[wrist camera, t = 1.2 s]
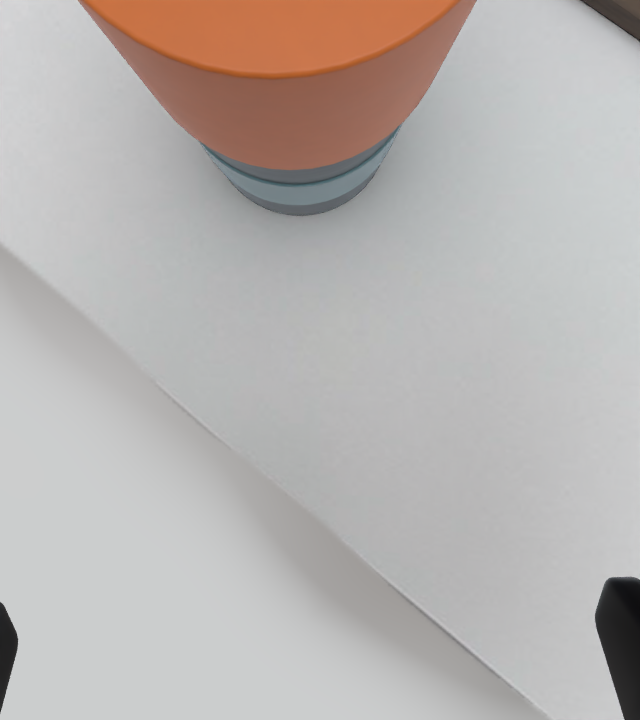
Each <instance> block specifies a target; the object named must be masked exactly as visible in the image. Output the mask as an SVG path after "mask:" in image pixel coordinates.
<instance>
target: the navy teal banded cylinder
mask: <svg viewBox="0 0 640 720" xmlns="http://www.w3.org/2000/svg"><path fill="white" fill-rule="evenodd" d="M402 123H403V122H402ZM402 123H401V124H400V125H399V126H398V127H397V128H396V129H395V130H394V131H393V132H392V133H390V134H389V135H388V136H387V137H385V138H384V139H382V140H381V141H380V142H378V143H377V144H375V145H374V146H372V147H371V148H369V149H367V150H365V151H363V152H361V153H359V154H357V155H356V156H354V157H351V158H349V159H346V160H343V161H340V162H337V163H335V164H331V165H327V166H322V167H317V168H313V169H300V170H280V169H268V168H263V167H258V166H253V165H249V164H246V163H243V162H240V161H237V160H234V159H231V158H229V157H227V156H225V155H223V154H221V153H219V152H217V151H215V150H213V149H211V148H209V147H208V146H206V145H205V144H203V143H202V142H200V141H199V140H198V141H199V143H200V144H201V145H202V147H203V148H204V149H205V151H206V152H207V153H208V155H209V156H210V157H211V159H212V160H213V161H214V163H215V164H216V165H217V166H218V168H219V169H220V170H221V171H222V172H223V173H224V174H225V175H226V176H227V177H228V179H229V180H230V181H231V183H232V184H233V185H234V186H235V187H236V188H237V189H238V190H239V191H240V192H241V193H242V194H243V195H245V196H246V197H247V198H248V199H250V200H251V201H253V202H254V203H256V204H258V205H260V206H262V207H264V208H266V209H269V210H272V211H275V212H277V213H282V214H287V215H300V216H301V215H313V214H318V213H323V212H326V211H329V210H332V209H334V208H336V207H338V206H340V205H342V204H344V203H346V202H347V201H349V200H350V199H352V198H353V197H355V196H356V195H357V194H358V193H359V192H360V191H361V190H362V189H363V188H364V187H365V186H366V185H367V184H368V183H369V181H370V180H371V179H372V177H373V176H374V174H375V173H376V171H377V170H378V168H379V165H380V163H381V162H382V160H383V159H384V157H385V156H386V154H387V153H388V151H389V149H390V147H391V145H392V143H393V141H394V139H395V137H396V135H397V133H398V131H399V129H400V127H401V125H402Z"/></svg>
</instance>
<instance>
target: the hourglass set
mask: <svg viewBox="0 0 640 720" xmlns="http://www.w3.org/2000/svg"><path fill="white" fill-rule="evenodd" d="M582 1H584V2H585V3H587V4H588V5H589V6H591V7H592V8H594V9H595V10H597V11H598V12H600V13H601V14H602V15H604V16H605V17H607V18H608V19H610V20H611V21H613V22H614V23H615V24H617V25H618V26H620V27H621V28H623V29H624V30H626V31H627V32H628V33H630V34H631V35H633V36H634V37H636V38H637V39H639V40H640V0H582Z"/></svg>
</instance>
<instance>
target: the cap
mask: <svg viewBox="0 0 640 720" xmlns="http://www.w3.org/2000/svg"><path fill="white" fill-rule="evenodd" d="M78 1H79V3H80V4H81V5H82V6H83V8H84V9H85V10H86V11H87V13H88V14H89V15H90V16H91V18H92V19H93V20H94V21H95V23H96V24H97V25H98V26H99V28H100V29H101V30H102V31H103V33H104V34H105V35H106V36H107V38H108V39H109V40H110V41H111V43H112V44H113V45H114V46H115V48H116V49H117V50H118V51H119V53H120V54H121V55H122V56H123V58H124V59H125V60H126V61H127V63H128V64H129V65H130V66H131V68H132V69H133V70H134V71H135V73H136V74H137V75H138V76H139V78H140V79H141V80H142V81H143V83H144V84H145V85H146V86H147V88H148V89H149V90H150V91H151V93H152V94H153V95H154V96H155V98H156V99H157V100H158V101H159V103H160V104H161V105H162V106H163V107H164V109H165V110H166V111H167V112H168V113H169V114H170V115H171V116H172V118H173V119H174V120H175V121H176V122H177V123H178V124H179V125H180V126H181V127H183V128H184V129H185V130H186V131H187V132H188V133H189V134H191V135H192V136H193V137H194V138H196V139H197V140H199V141H200V142H202V143H203V144H205V145H206V146H208V147H209V148H211V149H213V150H215V151H217V152H219V153H221V154H223V155H225V156H227V157H229V158H231V159H234V160H237V161H240V162H243V163H246V164H249V165H253V166H258V167H263V168H268V169H280V170H300V169H313V168H317V167H322V166H327V165H331V164H335V163H337V162H340V161H343V160H346V159H349V158H351V157H354V156H356V155H357V154H359V153H361V152H363V151H365V150H367V149H369V148H371V147H372V146H374V145H375V144H377V143H378V142H380V141H381V140H382V139H384V138H385V137H387V136H388V135H389V134H390V133H392V132H393V131H394V130H395V129H396V128H397V127H398V126H399V125H400V124H401V123H402V122H404V121H405V119H406V118H407V117H408V116H409V115H410V113H411V112H412V111H413V110H414V109H415V108H416V106H417V105H418V104H419V102H420V101H421V99H422V98H423V96H424V95H425V93H426V91H427V90H428V88H429V87H430V85H431V83H432V81H433V80H434V78H435V76H436V74H437V72H438V70H439V69H440V67H441V65H442V63H443V61H444V59H445V58H446V56H447V54H448V52H449V50H450V48H451V47H452V45H453V43H454V41H455V39H456V37H457V36H458V34H459V32H460V30H461V28H462V26H463V25H464V23H465V21H466V19H467V17H468V15H469V14H470V12H471V10H472V8H473V6H474V4H475V3H476V1H477V0H78Z"/></svg>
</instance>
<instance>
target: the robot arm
mask: <svg viewBox="0 0 640 720" xmlns="http://www.w3.org/2000/svg"><path fill="white" fill-rule="evenodd" d="M595 622H596V627H597V631H598V634H599V638H600V641H601V644H602V648H603V651H604V654H605V657H606V661H607V664H608V667H609V670H610V674H611V677H612V680H613V683H614V687H615V690H616V693H617V697H618V700H619V703H620V706H621V710H622V713H623V716H624V719H625V720H640V580H639V579H637V578H635V577H612V578H609V579H608V580H607V581H606V582H605V584H604V587H603V590H602V593H601V596H600V599H599V603H598V606H597V609H596V613H595ZM17 647H18V638H17V633H16V630H15V628H14V626H13V624H12V622H11V620H10V617H9V616H8V613H7V611H6V609H5V607H4V605H3V604H2V603H1V602H0V712H1V708H2V705H3V701H4V697H5V694H6V689H7V686H8V682H9V679H10V675H11V671H12V667H13V664H14V660H15V656H16V653H17Z"/></svg>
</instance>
